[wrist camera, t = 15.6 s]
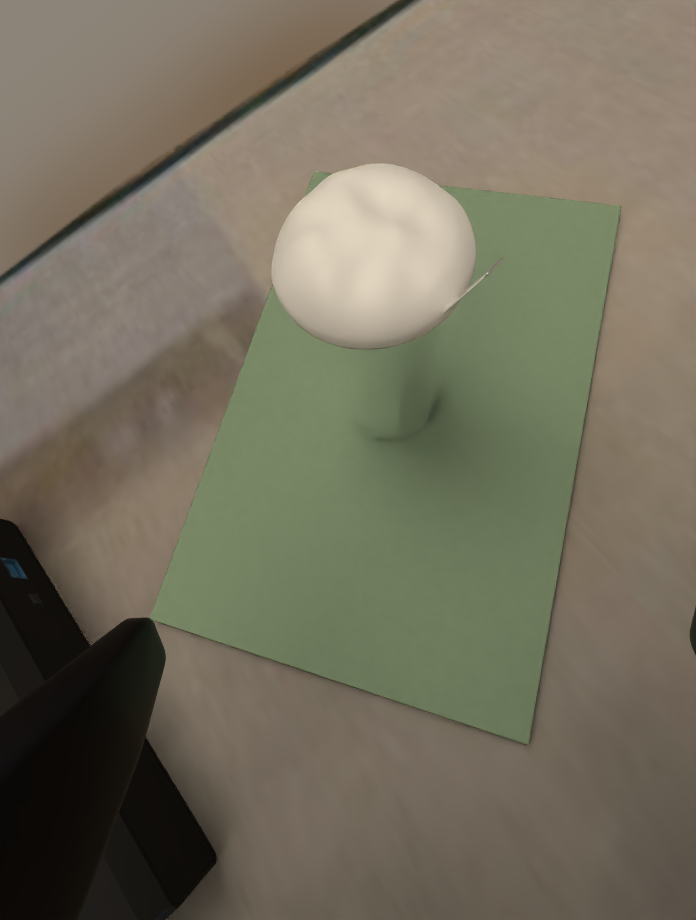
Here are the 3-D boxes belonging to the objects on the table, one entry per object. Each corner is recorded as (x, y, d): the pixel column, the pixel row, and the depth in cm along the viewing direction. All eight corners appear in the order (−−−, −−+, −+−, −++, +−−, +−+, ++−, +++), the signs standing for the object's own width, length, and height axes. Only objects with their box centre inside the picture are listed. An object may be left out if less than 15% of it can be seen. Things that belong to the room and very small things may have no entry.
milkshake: (414, 498, 18) (406, 361, 8) (307, 408, 19) (197, 207, 10) (497, 406, 18) (578, 179, 9) (386, 325, 20) (354, 60, 10)
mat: (526, 742, 15) (528, 745, 15) (154, 618, 18) (148, 619, 18) (618, 212, 20) (621, 205, 20) (315, 178, 23) (313, 170, 23)
